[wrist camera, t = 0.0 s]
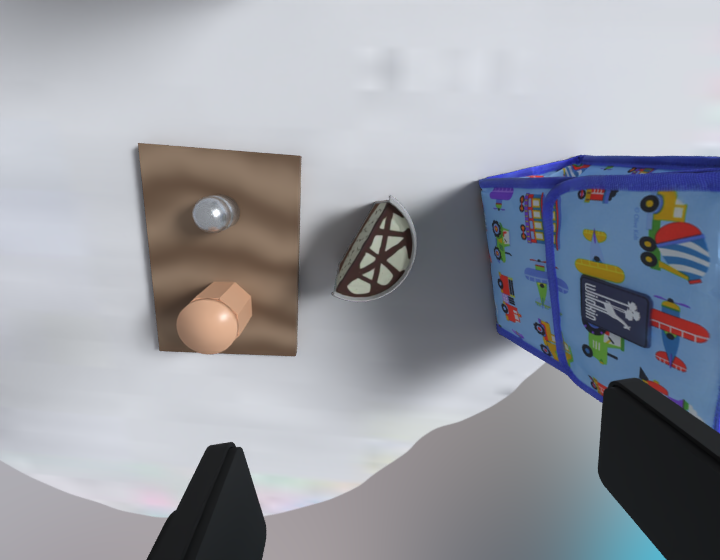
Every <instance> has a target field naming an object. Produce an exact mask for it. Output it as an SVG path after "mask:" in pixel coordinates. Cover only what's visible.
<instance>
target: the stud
mask: <svg viewBox="0 0 720 560" xmlns="http://www.w3.org/2000/svg"><path fill="white" fill-rule="evenodd" d="M192 216H193V220H194V222H195V224H196V225H197V226H198V227H199V228H200V229H201V230H203V231H205V232H208V233H219V232H222V231H224V230H226V229H228V228H230V227H232V226H234V225H235V224H236V223H237V221H238V219H239V216H240V210H239V207H238V205H237V203H236V202H235V200H234V199H232V198H231V197H229V196H227V195H222V194H220V195H213V196H207V197H203V198H201V199H200V200H198V201H197V202H196V203H195V205H194V207H193V210H192Z"/></svg>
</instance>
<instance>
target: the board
mask: <svg viewBox="0 0 720 560" xmlns="http://www.w3.org/2000/svg"><path fill="white" fill-rule="evenodd" d="M138 148H139V158H140V167H141V177H142V187H143V196H144V206H145V215H146V225H147V235H148V244H149V254H150V264H151V273H152V283H153V292H154V302H155V312H156V321H157V331H158V340H159V350H160V351H172V352H196V351H194V350H192V349H190V348H189V347H187V346H186V345H185V344H184V343H183V342H182V340H181V339H180V337H179V335H178V332H177V326H176V324H177V318H178V316H179V313H180V312H181V311H182V310H183V309H184V308H185V307H186V306H187V305H188V304H189V303H190V302H191V301H192V300H193V299H194V298H195V297H196V296H197V295H199V294H200V293H201V292H202V291H203V290H205V289H206V288H207V287H208V286H209V285H210V284H212V283H213V282H236V283H237V284H238V285H239V286H240V287H241V288H242V289H244V290H245V291H246V292H247V293H248V294H249V295H250V296H251V303H252V317H251V318H250V320H249V321H248V323H247V325H246V326H245V328H244V329H243V331H242V332H241V334H240V336H238V337H237V338H236V339H235V340H234V341H233V343H232V344H231V345H230V346H229V347H228V348H227V349H226V350H224V351H222V352H220V353H224V354H250V355H276V356H296V353H297V325H298V281H299V237H300V193H301V156H295V155H283V154H270V153H257V152H245V151H232V150H219V149H207V148H194V147H182V146H169V145H156V144H144V143H138ZM220 194H222V195H227V196H229V197H231V198H232V199H234V200H235V202H236V203H237V205H238V207H239V210H240V216H239V219H238V221H237V223H236V224H235V225H234V226H232V227H230V228H228V229H226V230H224V231H222V232H219V233H208V232H205V231H203V230H201V229H200V228H199V227H198V226H197V225H196V224H195V222H194V220H193V216H192V210H193V207H194V205H195V203H196V202H197V201H198V200H200V199H201V198H203V197H207V196H213V195H220Z"/></svg>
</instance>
